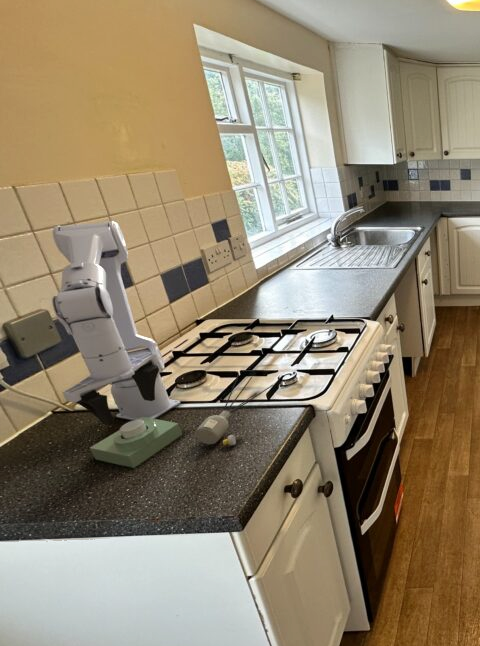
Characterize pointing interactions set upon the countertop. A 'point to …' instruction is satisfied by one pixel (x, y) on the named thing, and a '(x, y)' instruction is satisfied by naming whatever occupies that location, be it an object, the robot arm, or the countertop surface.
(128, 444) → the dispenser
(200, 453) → the countertop surface
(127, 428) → the white round button
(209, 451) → the countertop surface
